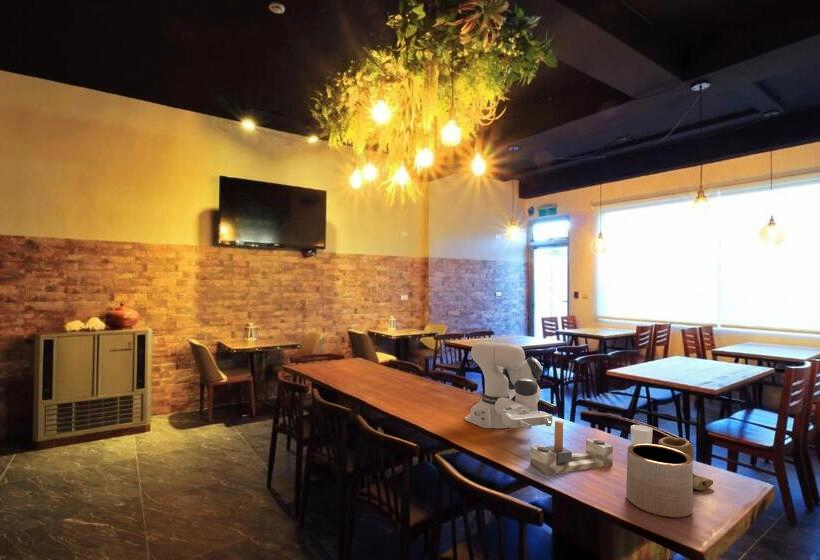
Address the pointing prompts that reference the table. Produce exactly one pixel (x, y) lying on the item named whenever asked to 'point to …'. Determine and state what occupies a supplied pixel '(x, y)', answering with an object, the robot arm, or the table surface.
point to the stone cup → (687, 448)
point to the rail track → (592, 458)
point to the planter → (660, 480)
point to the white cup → (641, 434)
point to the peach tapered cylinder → (560, 445)
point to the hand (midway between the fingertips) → (540, 425)
